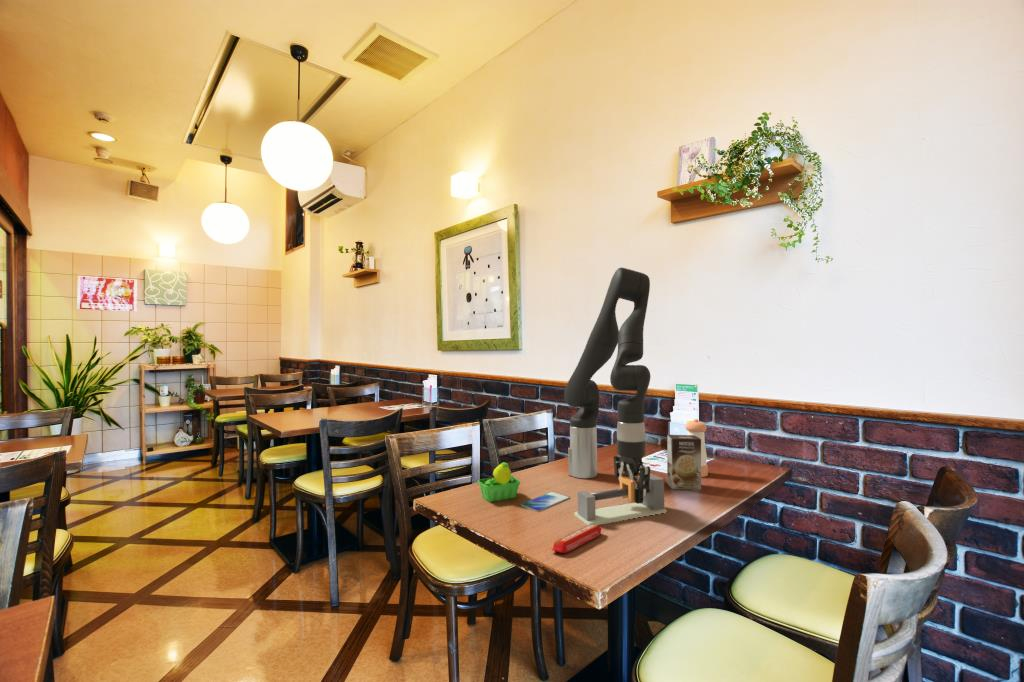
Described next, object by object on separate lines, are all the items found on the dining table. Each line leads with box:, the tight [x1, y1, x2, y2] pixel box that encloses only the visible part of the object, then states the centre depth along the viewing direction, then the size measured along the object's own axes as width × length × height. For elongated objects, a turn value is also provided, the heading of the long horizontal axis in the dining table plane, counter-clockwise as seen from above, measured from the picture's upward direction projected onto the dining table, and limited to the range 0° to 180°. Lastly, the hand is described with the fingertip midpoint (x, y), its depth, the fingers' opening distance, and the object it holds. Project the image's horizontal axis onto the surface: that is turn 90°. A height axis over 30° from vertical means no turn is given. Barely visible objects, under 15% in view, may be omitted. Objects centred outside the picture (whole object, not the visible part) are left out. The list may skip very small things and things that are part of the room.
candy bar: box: [551, 525, 603, 554], centre depth 106 cm, size 16×4×3 cm, turn 134°
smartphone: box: [520, 491, 571, 513], centre depth 134 cm, size 7×1×15 cm
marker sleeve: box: [619, 476, 644, 503], centre depth 125 cm, size 4×5×6 cm
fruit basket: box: [477, 462, 521, 503], centre depth 138 cm, size 11×9×11 cm
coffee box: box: [666, 434, 702, 491], centre depth 146 cm, size 9×6×16 cm
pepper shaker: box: [685, 418, 709, 478], centre depth 159 cm, size 7×7×19 cm
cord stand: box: [573, 472, 668, 526], centre depth 124 cm, size 24×8×9 cm, turn 110°
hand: (631, 498), depth 125 cm, fingers open, 6 cm apart
